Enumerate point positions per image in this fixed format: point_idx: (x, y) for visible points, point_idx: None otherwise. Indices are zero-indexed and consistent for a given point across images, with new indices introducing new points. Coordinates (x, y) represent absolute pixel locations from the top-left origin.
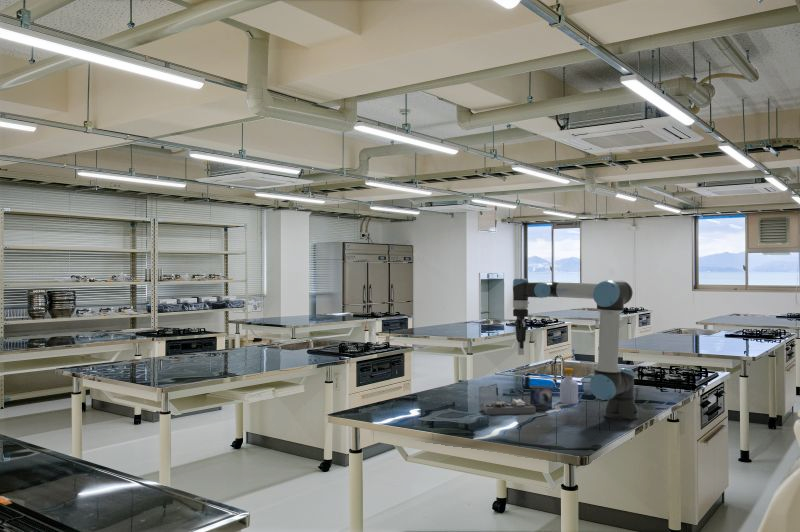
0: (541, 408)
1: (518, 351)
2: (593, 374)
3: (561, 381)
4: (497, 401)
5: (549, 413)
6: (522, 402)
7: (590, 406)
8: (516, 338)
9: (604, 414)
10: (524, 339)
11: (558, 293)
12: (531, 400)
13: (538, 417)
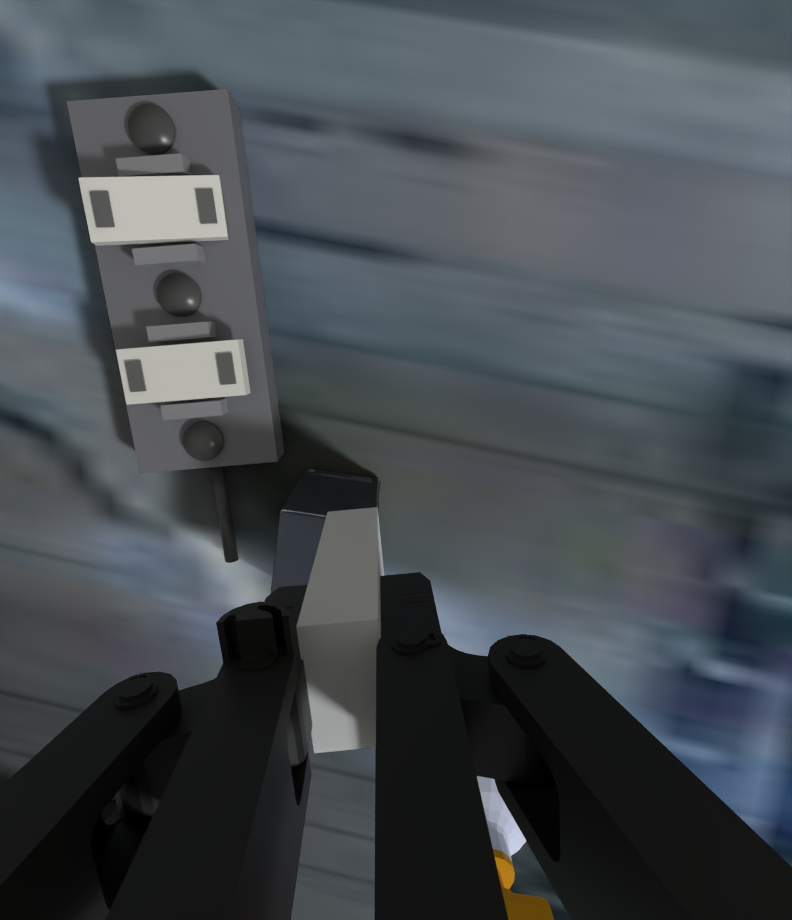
0: (218, 517)
1: (341, 530)
2: None
3: (490, 778)
4: (80, 182)
5: (160, 543)
6: (130, 390)
7: (353, 795)
8: (529, 653)
9: (115, 807)
10: (109, 819)
11: None
12: (297, 483)
13: (43, 456)
